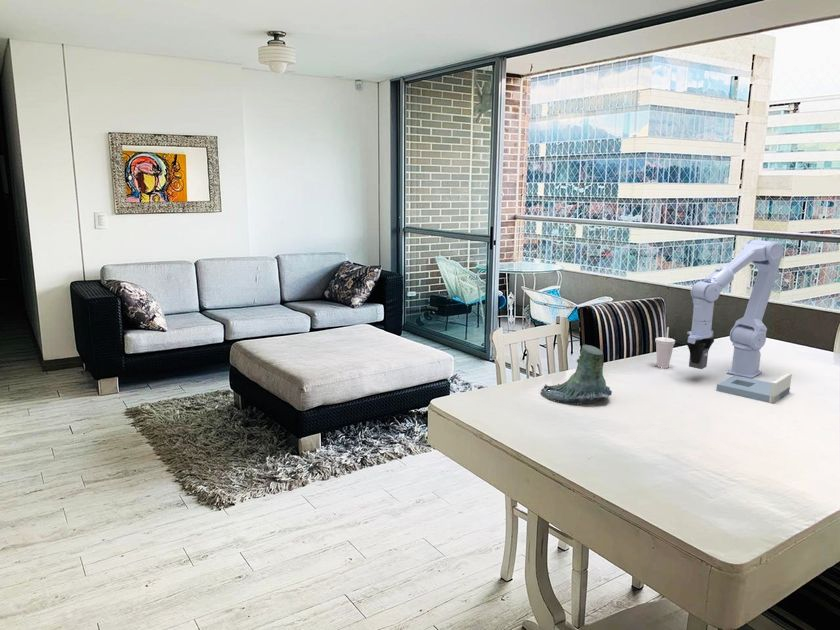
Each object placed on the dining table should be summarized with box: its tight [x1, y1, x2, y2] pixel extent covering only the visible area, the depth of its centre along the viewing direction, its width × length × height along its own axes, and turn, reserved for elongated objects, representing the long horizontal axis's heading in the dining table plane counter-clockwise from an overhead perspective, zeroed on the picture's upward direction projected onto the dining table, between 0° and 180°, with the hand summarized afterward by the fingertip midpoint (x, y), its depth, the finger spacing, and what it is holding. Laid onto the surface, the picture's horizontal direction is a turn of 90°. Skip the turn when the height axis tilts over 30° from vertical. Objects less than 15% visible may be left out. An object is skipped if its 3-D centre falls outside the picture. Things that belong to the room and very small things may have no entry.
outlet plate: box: [715, 372, 792, 404], centre depth 192 cm, size 14×16×6 cm
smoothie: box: [654, 326, 676, 369], centre depth 217 cm, size 6×6×14 cm
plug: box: [688, 348, 709, 370], centre depth 203 cm, size 4×4×6 cm
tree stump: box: [540, 344, 613, 405], centre depth 186 cm, size 18×20×18 cm
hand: (698, 361), depth 204 cm, fingers closed on plug, 4 cm apart
